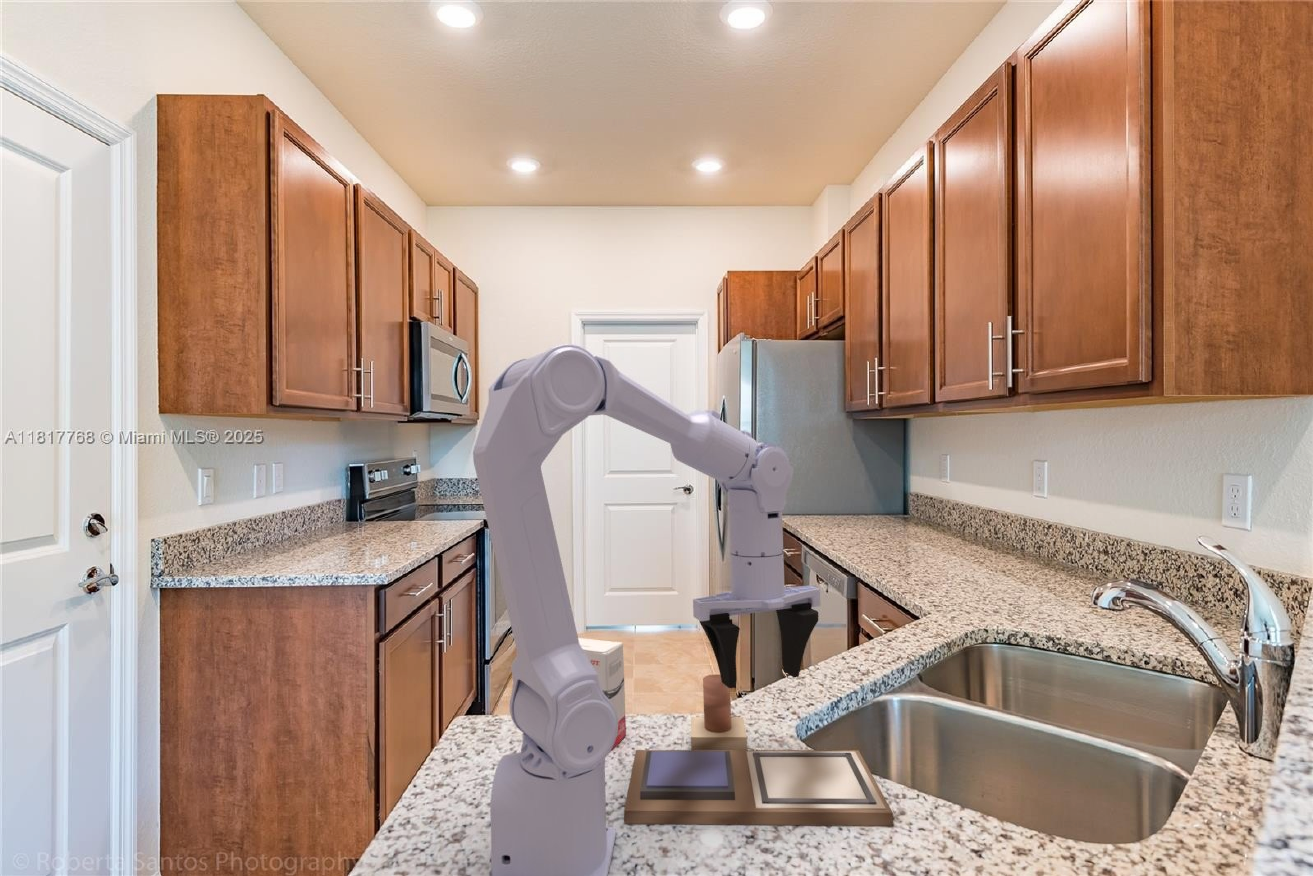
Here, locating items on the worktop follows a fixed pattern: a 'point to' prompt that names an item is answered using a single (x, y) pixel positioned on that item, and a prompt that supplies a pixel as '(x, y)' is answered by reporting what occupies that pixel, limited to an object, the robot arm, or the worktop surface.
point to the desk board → (754, 788)
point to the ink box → (609, 675)
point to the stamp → (717, 720)
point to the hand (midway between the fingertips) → (760, 679)
